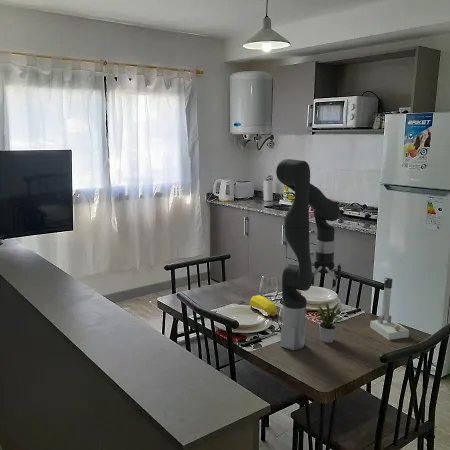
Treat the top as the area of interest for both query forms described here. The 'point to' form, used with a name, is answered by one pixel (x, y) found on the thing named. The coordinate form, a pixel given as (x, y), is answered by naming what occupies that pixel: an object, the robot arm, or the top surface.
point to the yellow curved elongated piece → (264, 304)
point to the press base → (389, 328)
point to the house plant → (328, 323)
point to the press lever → (386, 298)
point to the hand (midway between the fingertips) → (323, 286)
